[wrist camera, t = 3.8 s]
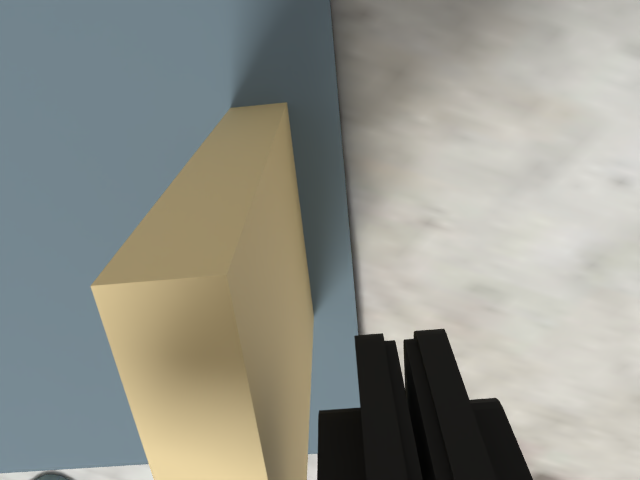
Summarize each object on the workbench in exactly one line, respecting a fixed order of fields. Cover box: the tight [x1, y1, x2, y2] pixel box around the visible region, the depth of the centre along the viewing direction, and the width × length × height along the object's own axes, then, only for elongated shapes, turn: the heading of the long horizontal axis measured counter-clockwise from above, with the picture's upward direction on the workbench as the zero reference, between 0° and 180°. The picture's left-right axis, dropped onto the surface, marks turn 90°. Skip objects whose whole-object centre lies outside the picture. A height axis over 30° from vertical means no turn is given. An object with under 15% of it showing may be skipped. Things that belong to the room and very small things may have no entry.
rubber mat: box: [0, 0, 360, 473], centre depth 19 cm, size 17×22×1 cm
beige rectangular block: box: [91, 102, 314, 480], centre depth 14 cm, size 2×8×11 cm, turn 6°
